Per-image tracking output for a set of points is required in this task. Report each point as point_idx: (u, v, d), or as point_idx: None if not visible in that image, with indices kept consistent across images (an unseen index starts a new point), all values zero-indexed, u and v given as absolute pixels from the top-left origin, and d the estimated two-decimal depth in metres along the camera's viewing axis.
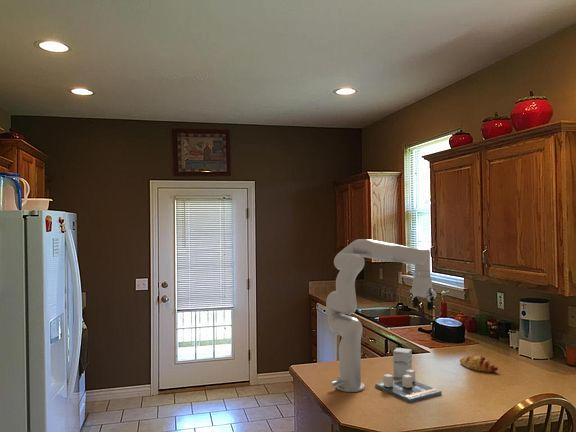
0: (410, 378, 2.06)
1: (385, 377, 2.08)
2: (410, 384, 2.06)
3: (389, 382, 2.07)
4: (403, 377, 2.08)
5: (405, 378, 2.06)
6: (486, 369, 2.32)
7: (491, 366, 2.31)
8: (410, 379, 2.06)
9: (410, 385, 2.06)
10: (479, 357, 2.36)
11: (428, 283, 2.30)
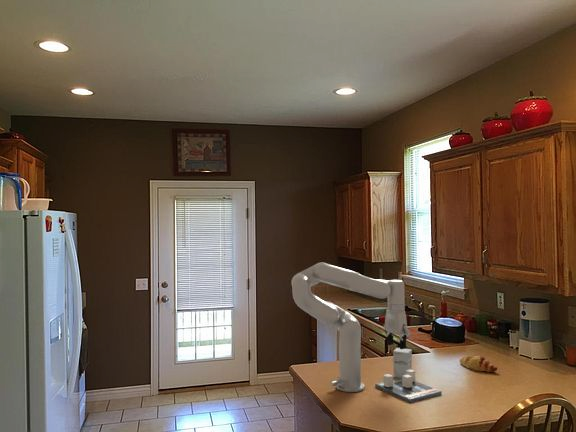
0: (410, 378, 2.06)
1: (385, 377, 2.08)
2: (410, 384, 2.06)
3: (389, 382, 2.07)
4: (403, 377, 2.08)
5: (405, 378, 2.06)
6: (485, 369, 2.31)
7: (490, 366, 2.31)
8: (410, 379, 2.06)
9: (410, 385, 2.06)
10: (479, 357, 2.36)
11: (402, 319, 2.09)
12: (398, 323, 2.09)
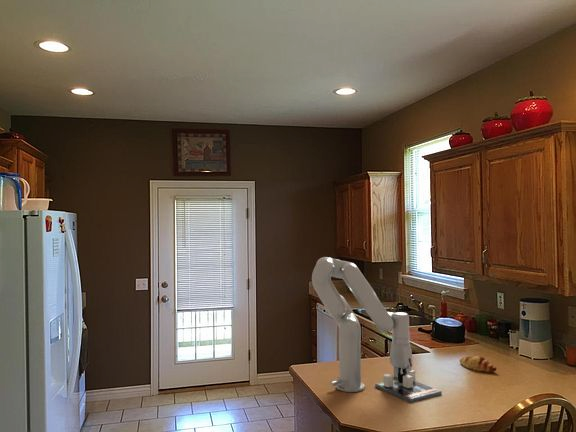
0: (411, 378, 2.06)
1: (385, 377, 2.08)
2: (411, 384, 2.06)
3: (389, 382, 2.07)
4: (404, 377, 2.07)
5: (406, 378, 2.06)
6: (485, 369, 2.31)
7: (490, 366, 2.30)
8: (411, 379, 2.06)
9: (411, 386, 2.06)
10: (478, 357, 2.36)
11: (407, 353, 2.06)
12: (403, 357, 2.06)
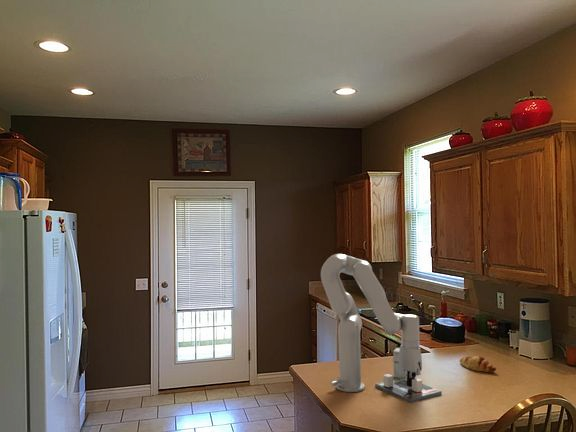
0: (420, 382, 2.01)
1: (385, 377, 2.08)
2: (420, 388, 2.01)
3: (389, 382, 2.07)
4: (413, 381, 2.02)
5: (415, 382, 2.01)
6: (484, 369, 2.31)
7: (489, 366, 2.30)
8: (420, 383, 2.01)
9: (420, 390, 2.01)
10: (478, 357, 2.36)
11: (417, 356, 2.01)
12: (413, 360, 2.01)
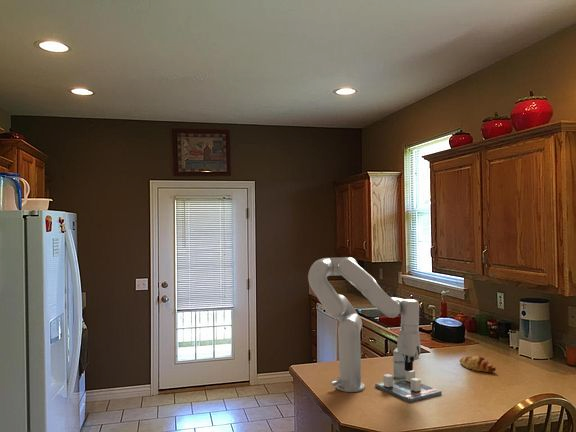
0: (418, 381, 2.02)
1: (385, 377, 2.08)
2: (418, 387, 2.02)
3: (389, 382, 2.07)
4: (411, 380, 2.03)
5: (413, 381, 2.02)
6: (484, 369, 2.31)
7: (489, 366, 2.30)
8: (418, 382, 2.02)
9: (419, 389, 2.02)
10: (477, 357, 2.36)
11: (415, 340, 2.01)
12: (411, 345, 2.01)
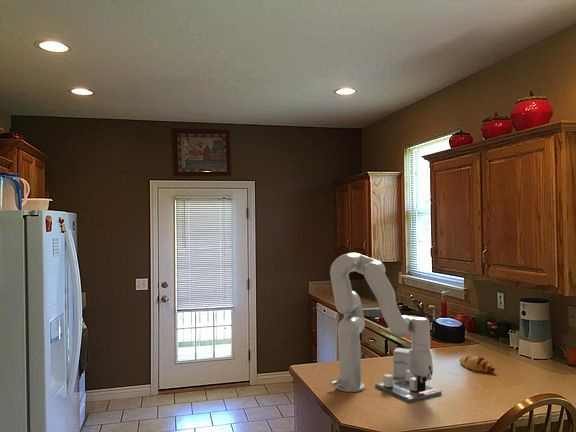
0: None
1: (385, 377, 2.08)
2: None
3: (389, 382, 2.07)
4: (410, 380, 2.04)
5: (412, 381, 2.03)
6: (483, 369, 2.31)
7: (488, 366, 2.30)
8: None
9: None
10: (477, 357, 2.36)
11: (427, 360, 1.96)
12: (423, 365, 1.95)
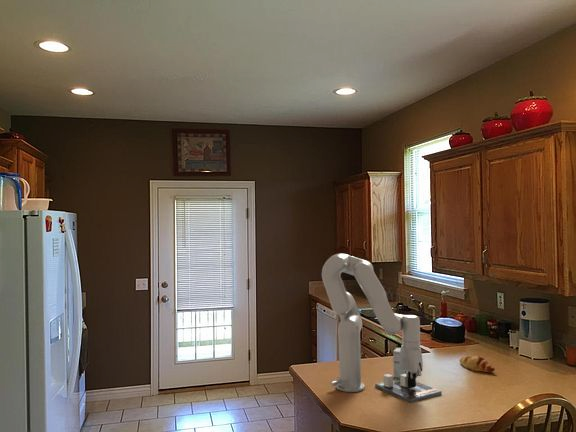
0: None
1: (385, 377, 2.08)
2: None
3: (389, 382, 2.07)
4: (401, 376, 2.09)
5: (403, 377, 2.08)
6: (483, 369, 2.31)
7: (488, 366, 2.30)
8: None
9: None
10: (477, 357, 2.36)
11: (417, 357, 2.01)
12: (413, 361, 2.00)
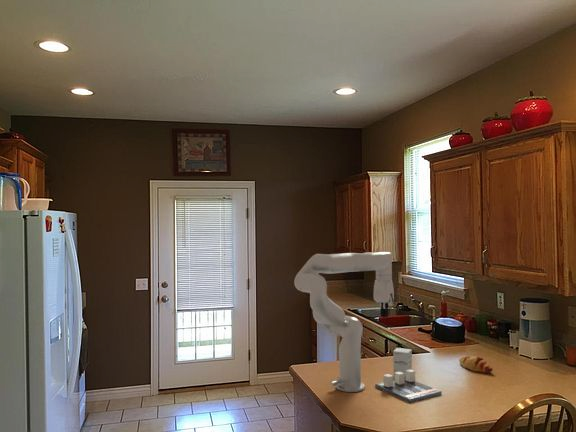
0: (402, 375, 2.11)
1: (385, 377, 2.08)
2: (402, 381, 2.11)
3: (389, 382, 2.07)
4: (395, 374, 2.12)
5: (397, 375, 2.11)
6: (481, 369, 2.31)
7: (485, 367, 2.30)
8: (402, 376, 2.11)
9: (402, 382, 2.11)
10: (475, 357, 2.36)
11: (389, 288, 2.21)
12: (385, 292, 2.21)
